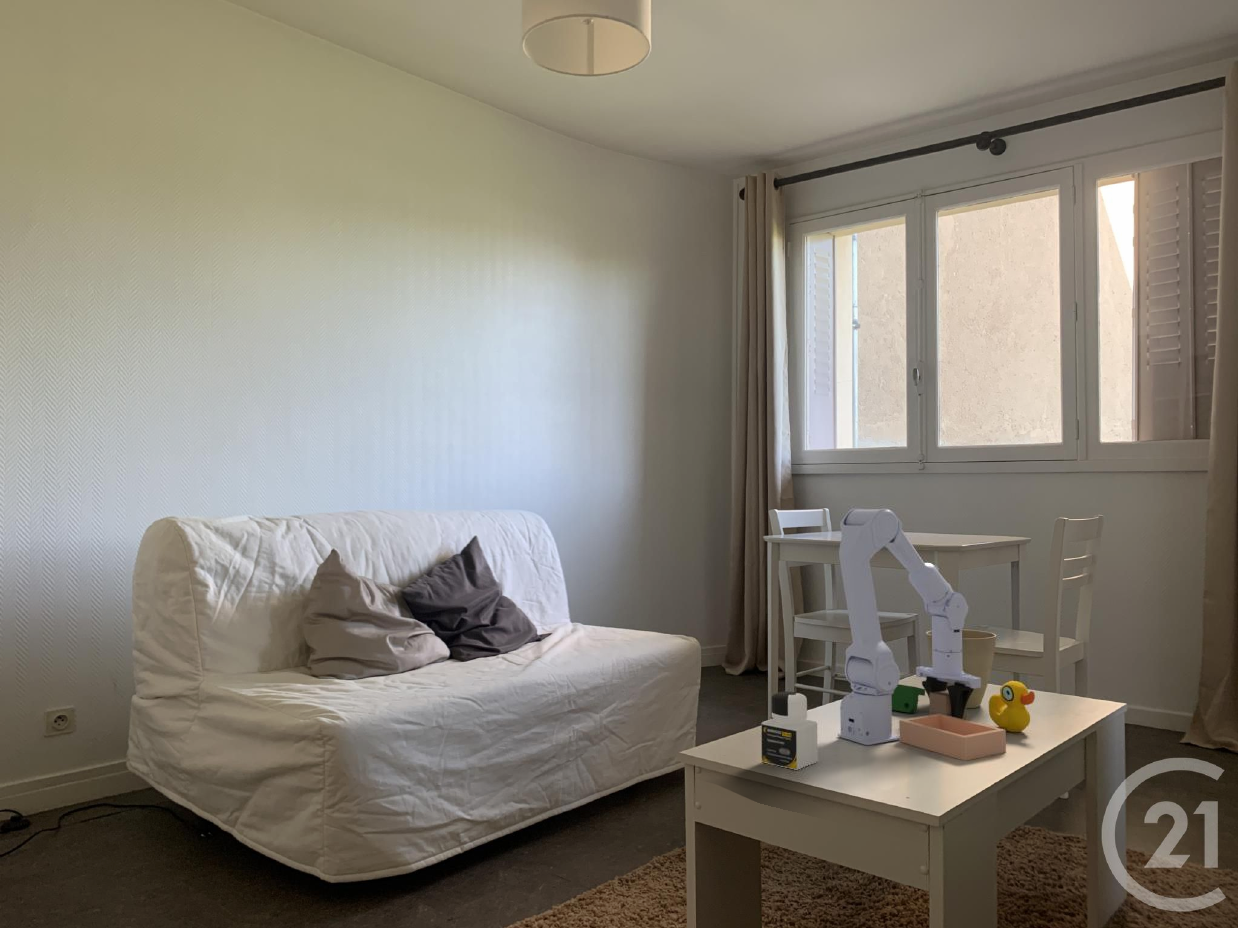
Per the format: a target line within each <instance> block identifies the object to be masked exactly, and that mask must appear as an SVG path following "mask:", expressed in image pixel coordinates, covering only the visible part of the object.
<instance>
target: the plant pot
mask: <svg viewBox="0 0 1238 928" xmlns="http://www.w3.org/2000/svg"><path fill="white" fill-rule="evenodd" d="M925 635H926V642H927V647H928V652H929V657H930V661H931V663H932V629H931V630H929V631H928V630H927V631H926V632H925ZM996 641H997V634H995V633H993V632H989V631H985V630H984V631H982V630H975V629H962V671H964V673H966V674H969V675H972V676H975V677H979V678H981V688H975V689H974V690H973V692H972V694H971V695H970V697H969V699H968V701H967V704H966V709H976V708H979V707H980V706H981V704H982V702H983V699H984V697H985V693H986V690H987V687H988V684H989V679H990V676H991V672H992V668H993V664H994V657H995V649H996V643H997V642H996ZM950 685H954V683H949V682H948V684H947V686H950ZM946 690H947V687H946Z"/></svg>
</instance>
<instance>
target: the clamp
mask: <svg viewBox="0 0 1238 928" xmlns="http://www.w3.org/2000/svg"><path fill="white" fill-rule="evenodd" d="M919 696H922V697H923V696H924V697H925V696H926V690H925V689H924V688H921V687H917V686H911V685H906V684H905V685H904V684H899V683H898V685H897V687H896V688H895V689H894V693H893V694H891V699H892V711H897V712H903V713H909V714H914V713H915V712H916V711H918V704H919Z"/></svg>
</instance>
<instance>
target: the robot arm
mask: <svg viewBox="0 0 1238 928" xmlns="http://www.w3.org/2000/svg"><path fill="white" fill-rule="evenodd" d="M839 527H840V532H841V539H840V545H839V549H838V557H839V559H838V560H839V563H840V571H841V577H842V583H843V589H844V595H845V602H846V608H847V614H848V621H849V625H850V632H851V637H852V638H851V640H852V643H851V645H849V646H848V647H847V648H846V649H845V662H844V663H845V664H844V675H845V678H846V680H847V681H848V683H850V689H852V691H851V692H850V694H847V695H845V696H843V698H842V699H841V702H840V708H839V709H840V712H839V713H840V733H837V737H839V738H843V739H846V740H849V741H851V742H852V741H853V742H856V743H858V744H861V745H866V746H870V745H876V744H881V743H888V742H893V741H898V740H899V741H900V734H899V735H898V734H894V733H893V720H892V719H893V717H892V716H893V715H892V713H893V712H892V711H893V710H892V699H891V694H893V693H894V689H895V688H896V687H897V685H898V684H899V683H900V679H901V672H900V668H899V666H898V664H897V662H896V661H895V658H894V653H893V651H892V650H891V648H890V647H889V646H888V645H887V643H885V641H883V635H882V632H881V631H882V630H881V629H882V628H881V624H880V618H879V617H880V616H879V613H878V606H877V599H876V595H875V593H876V592H875V587H874V580H873V574H872V568H871V562H870V560H871V559H872V558H873V556H874V555H875V554H876V553H877V552H879V551H880V550H881V549H882V548H883V547H886V549H888V551H889V552H890V553H891V554H892V555H893V556H894V557H895V558H896V559H897V561H899V562H900V564H901V565H902V566H903V567H904V568H905V569H906V570H907V571H908V572H909V574H908V581H909V583H910V584H911V585H912V587H913V588H914V589H915V590H916V592H917V593H918V594H919V596H921V598H922V600H923V603H924V610H925V612H926V614H928V615H929V616H931V630H932V662H931V666H932V667H928V666H917V667H915V677H916V678H926V679H925V680H922V681H921V685H922V687H923V689H925V693H926V695H927V697H928V699H929V700H930V693H931V692H938V691H945V690H946V687H947V690H948V692H949V696H950V701H951V713H952V717H955V718H959V719H962V718H963V714H964V710H965V707H966V704H967V701H968V699H969V697H970V695H971V694H972V692H973V690H974V689H975V688H981V678H979V677H975V676H972V675H969V674H966V673H964V671H962V630H963V629H964V626H965V619H966V616H967V615H968V612H969V606H970V605H968V603H967V600H966V599H965V597H964V596H963V595H962V593H960V592H958V591H954V590H953V588H952V586H951V584H950V583H949V582H947V580H946V579H945V578H944V577H943V576H942V574H941V573H940V568H939V567H938V566H937V565H936V564H932V563H931V562H924V561H923V559H922V558H921V556H920V554H919V553H918V551H917V550H916V548H915V547H914V546H913V543H912V542H911V541H910V539H909V538H908V537H907V535H906V534H905V532H904V530H903V523H902V521H901V520H900V519H898V517H897V515H896V514H895V512H893V511H892V510H891V509H889V508H880V509H876V508H875V509H871V508H869V509H868V508H867V509H866V508H865V509H864V508H863V509H862V508H851V509H850V510H849V511H847V512H846V514H845V515H844V517H843V518H842V519H841V520H840V522H839ZM948 682H949V683H954V685H950V686H947V684H948Z"/></svg>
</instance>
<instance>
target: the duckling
mask: <svg viewBox="0 0 1238 928" xmlns="http://www.w3.org/2000/svg"><path fill="white" fill-rule="evenodd" d="M1035 697H1036V696H1035V691H1032V690H1030V691H1029V690H1028V688H1027V687H1026V685H1025V684H1024V683H1022V682H1021V681H1018V680H1017V681H1016V680H1009V681H1006V683H1004V684H1003V685H1001V686H1000V689H999V693H995V694H992V695H991V696H990V697H989V700H988V715H989V717H990V718H991V720H992V721H993V723H994V724H995V725H997V726H998V727H999V728H1000V729H1004V730H1006V732H1007V731H1008V732H1010V733H1020V732H1022V731H1024V730H1025V729H1026V728H1027V727H1028V726H1029V725H1030V723H1031V715H1030V712H1029V711H1028V709H1027V707H1026V706H1029V705H1031V704H1033V703H1034V701H1035Z"/></svg>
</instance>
